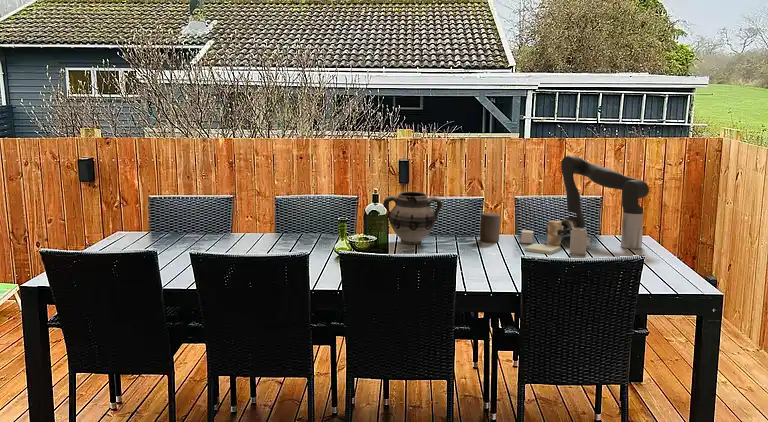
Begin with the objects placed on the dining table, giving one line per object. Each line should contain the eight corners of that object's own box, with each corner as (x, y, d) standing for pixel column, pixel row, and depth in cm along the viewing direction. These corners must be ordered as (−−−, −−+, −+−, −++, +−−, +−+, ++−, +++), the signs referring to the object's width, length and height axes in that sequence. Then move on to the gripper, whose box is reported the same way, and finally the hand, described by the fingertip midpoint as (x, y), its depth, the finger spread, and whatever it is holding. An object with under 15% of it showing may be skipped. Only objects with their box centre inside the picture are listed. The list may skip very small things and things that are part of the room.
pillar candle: (478, 241, 345) (479, 212, 343) (481, 238, 355) (482, 209, 352) (497, 243, 343) (499, 214, 340) (500, 240, 352) (501, 211, 350)
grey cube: (532, 241, 350) (533, 230, 349) (532, 243, 345) (532, 232, 344) (521, 240, 351) (522, 230, 351) (521, 242, 346) (521, 231, 345)
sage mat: (560, 249, 330) (560, 246, 330) (550, 254, 319) (551, 251, 319) (534, 246, 337) (534, 243, 337) (524, 250, 326) (524, 247, 326)
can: (584, 252, 325) (585, 227, 323) (587, 255, 318) (589, 230, 316) (568, 251, 326) (569, 226, 324) (570, 255, 318) (572, 229, 317)
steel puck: (589, 247, 336) (590, 237, 336) (589, 249, 331) (590, 239, 330) (576, 246, 338) (577, 236, 338) (576, 248, 332) (577, 238, 332)
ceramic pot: (440, 239, 350) (442, 190, 346) (441, 248, 327) (442, 196, 323) (384, 237, 351) (385, 189, 348) (380, 246, 329) (381, 195, 325)
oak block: (560, 245, 341) (561, 221, 339) (556, 246, 337) (558, 222, 335) (550, 243, 344) (551, 220, 342) (547, 245, 340) (548, 221, 338)
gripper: (551, 218, 355) (539, 223, 340) (578, 221, 347) (567, 226, 333) (550, 233, 356) (538, 237, 342) (577, 236, 348) (566, 241, 334)
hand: (552, 232), depth 337 cm, fingers closed on oak block, 5 cm apart
